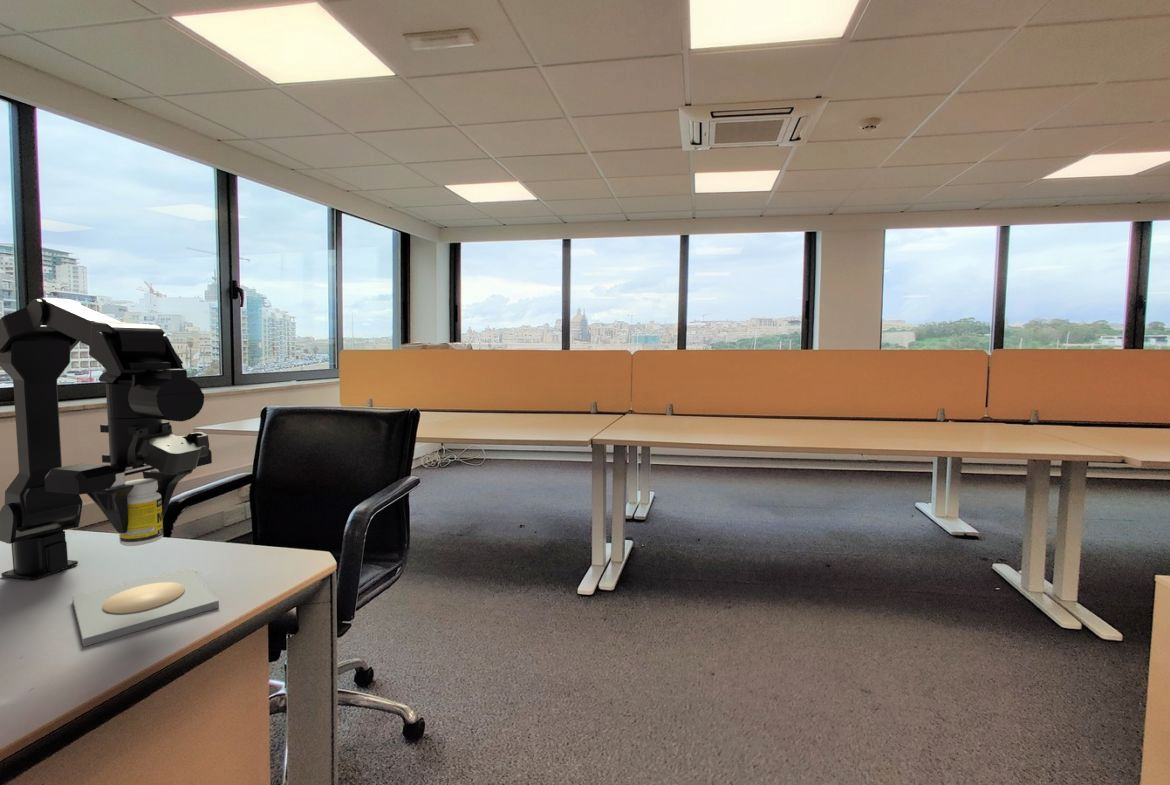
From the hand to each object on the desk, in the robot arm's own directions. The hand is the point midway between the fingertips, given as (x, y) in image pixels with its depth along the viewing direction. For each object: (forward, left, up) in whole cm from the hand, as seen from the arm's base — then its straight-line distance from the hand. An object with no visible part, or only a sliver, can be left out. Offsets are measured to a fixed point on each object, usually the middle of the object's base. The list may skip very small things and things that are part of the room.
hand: (141, 526), depth 75 cm
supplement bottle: (0, 0, -2) cm, 2 cm away
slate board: (0, 0, -11) cm, 11 cm away
